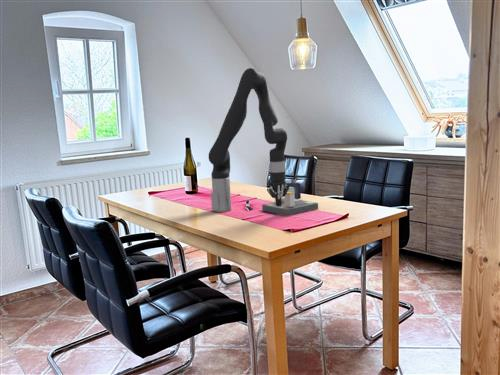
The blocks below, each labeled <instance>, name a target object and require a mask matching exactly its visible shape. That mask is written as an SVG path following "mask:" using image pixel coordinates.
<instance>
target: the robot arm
mask: <svg viewBox="0 0 500 375" xmlns="http://www.w3.org/2000/svg"><path fill="white" fill-rule="evenodd" d="M268 88H269V87H268V83H267V79H266V76H265V74H264V72H262V71H259V70H258V69H254V68H252V67H249V68H247V69H245V70H244V71H243V73H242V75H241V77H240V80H239V83H238V86H237V89H236V92H235V95H234V97H233V100H232V103H231V104H230V107H229V109H228V111H227V113H226V115H225V118H224V120H223V123H222V125H221V128H220V130H219V132H218V135H217V138H216V140H215V141H214V142H213V145H212V146H211V148H210V150H209V152H208V161H209V162H210V163H211V164H212V170H211V190H212V192H211V193H210V200H211V211H212V212H216V213H225V212H230V211H231V210H232V200H231V199H232V198H231V196H232V195H231V180H230V179H231V178H230V173H231V155H230V151H229V148H230V146H231V143H232V142H233V140H234V138H235V137H236V136H237V134H238V133H239V132H240V130H241V129H242V127H243V125H244V122H245V120H246V118H247V115H248V114H247V113H248V98H249V95H250V93H251V91H252V90H253V91H254V92H255V94H256V97H257V99H258V112H259V115H260V118H261V120H262V121H261V122H262V123H263V124H262V125H263V131H264V139H265V141H266V142H267V143H268V144H270V145H275V146H274V148H272V149H270V150H269V180H270V185H269V188H268V187H267V188H266V191H267V193H268V194H269V195H270V197H271V198H273V199H275V200H274V202H276V206H278V207H279V206H281V205H282V201H283V198H285V195H286V193H287V191H288V189H289V186H287V185H286V179H287V178H286V177H287V175H286V163H285V162H286V161H285V150H286V145H287V141H288V134H287V130H286V129H284V128H282V127H281V128H280V127H279V128H274V126H276V125H277V124H278V117H277V115H276V111H275V110H274V107H273V103H272V100H271V96H270V94H269V93H270V92H269V89H268Z"/></svg>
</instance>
